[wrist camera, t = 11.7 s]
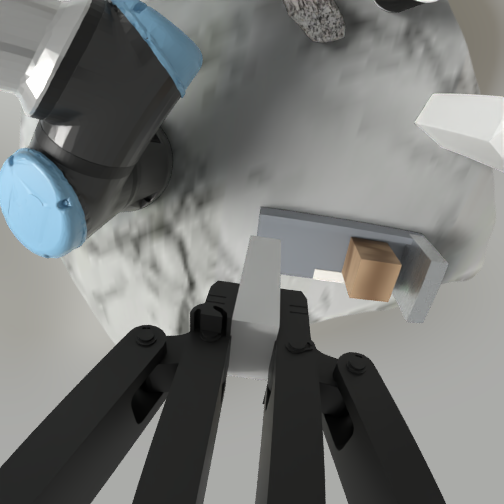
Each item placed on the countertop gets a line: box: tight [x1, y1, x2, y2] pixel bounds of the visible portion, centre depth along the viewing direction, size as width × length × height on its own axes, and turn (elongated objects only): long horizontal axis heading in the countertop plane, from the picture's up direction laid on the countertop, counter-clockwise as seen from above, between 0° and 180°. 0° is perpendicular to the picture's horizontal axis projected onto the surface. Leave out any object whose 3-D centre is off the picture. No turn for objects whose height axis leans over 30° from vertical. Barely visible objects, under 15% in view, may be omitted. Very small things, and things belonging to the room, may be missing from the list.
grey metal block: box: [392, 234, 449, 323], centre depth 42 cm, size 3×10×9 cm, turn 174°
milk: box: [414, 93, 504, 173], centre depth 27 cm, size 6×6×22 cm
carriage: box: [342, 237, 402, 302], centre depth 43 cm, size 7×7×7 cm
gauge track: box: [257, 207, 423, 283], centre depth 46 cm, size 26×10×3 cm, turn 84°
